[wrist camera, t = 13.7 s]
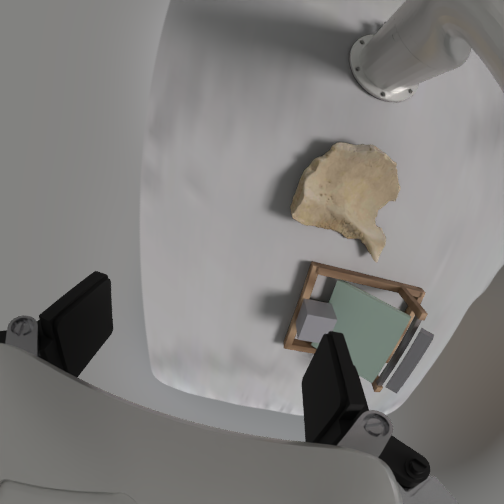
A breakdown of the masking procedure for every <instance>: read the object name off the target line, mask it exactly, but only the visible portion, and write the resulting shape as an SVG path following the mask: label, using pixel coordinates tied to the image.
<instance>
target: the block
mask: <svg viewBox="0 0 504 504" xmlns="http://www.w3.org/2000/svg"><path fill="white" fill-rule="evenodd" d="M336 322H337V317H336V314H335V312H334V309H333V306H332V304H330V303H325V302H320V301H315V300H310V299H305V298H304V300H303V303H302V306H301V309H300V311H299V314H298V317H297V320H296V330H297V337H298V340H303V341H309V342H315V343H320V341H321V339H322V337H323V335H324V334H328V332H329V331H333V329H334V327H335V324H336Z"/></svg>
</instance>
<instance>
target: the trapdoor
mask: <svg viewBox="0 0 504 504" xmlns="http://www.w3.org/2000/svg"><path fill="white" fill-rule="evenodd" d="M329 303H330V304H332V306H333V309H334V312H335V314H336V317H337V322H336V324H335V327H334V329H333V331H334V332H339V333H343V335H344V337H345V340H346V344H347V347H348V350H349V353H350V356H351V359H352V362H353V365H355V367H356V369H357V372H358V375H359V376H361V377H363V378H364V379H366V380H368V381H369V382H371V383H373V381H374V380H375V378H376V377H377V375H378V374H379V372H380V371H381V369H382V367H383V366H384V364H385V363H386V361H387V359H388V358H389V356H390V355H391V353H392V351H393V349H394V348H395V346H396V344H397V343H398V341H399V339H400V337H401V335H402V334H403V332H404V330H405V328H406V326H407V324H408V322H409V321H410V319H411V316H410V315H408V314H406V313H404V312H402V311H400V310H398V309H396V308H395V307H393V306H391V305H389V304H387V303H385V302H383V301H381V300H379V299H377V298H376V297H374V296H372V295H370V294H368V293H366V292H364V291H362V290H360V289H358V288H356V287H355V286H353V285H351V284H349V283H347V282H345V281H343V280H341V279H339V280H337V283H336V285H335V288H334V291H333V293H332V296H331V298H330V301H329ZM433 337H434V334H432V333H430V332H428V331H426V330H424V329H423V328H421V330H420V332H419V334H418V336H417V337H416V339H415V341H414V343H413V344H412V346H411V348H410V349H409V351H408V353H407V354H406V356H405V357H404V359H403V361H402V362H401V364H400V365H399V367H398V368H397V370H396V371H395V373H394V374H393V376H392V377H391V379H390V380H389V382H388V383H387V385H386V388H388V389H390V390H392V391H393V392H395V393H397V392H398V391H399V390H400V388H401V387H402V385H403V384H404V383H405V381H406V380H407V378H408V377H409V376H410V374H411V373H412V371H413V370H414V368H415V367H416V365H417V364H418V362H419V361H420V359H421V358H422V356H423V354H424V353H425V351H426V350H427V348H428V346H429V345H430V343H431V341H432V340H433ZM311 345H312V346H313V347H315V348H316V349H317V347H318V345H319V343H315V342H312V344H311Z"/></svg>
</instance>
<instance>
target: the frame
mask: <svg viewBox="0 0 504 504" xmlns="http://www.w3.org/2000/svg"><path fill="white" fill-rule="evenodd" d="M318 274H319V275H323V276H328V277H332V278H336V279H341V280H345V281H349V282H354V283H358V284H362V285H367V286H371V287H375V288H380V289H384V290H389V291H393V292H397V293H399V294H400V296H401V297H402V298H403V299H404V301H405V302H406V303H407V305H408V307H407V309H406V311H405V313H406V314H408V315H410V316H411V319H410V321H409V322H408V324H407V326H406V328H405V330H404V332H403V334H402V335H401V337H400V339H399V341H398V343H397V344H396V346H395V348H394V349H393V351H392V353H391V355H390V356H389V358H388V359H387V361H386V363H388V364H387V366H386V367H385V369H384V370H383V372H382V373H381V375H380V376H378V375H377V377H376V378H375V380H374V381H373V383H372V386H373V389H374V392H380V391H381V390H382V388H383V387H382V385H383V383H384V382H385V380H386V379H387V377H388V376H389V374H390V373H391V371H392V370H393V368H394V367H395V365H396V364H397V362H398V361H399V359H400V357H401V356H402V354H403V353H404V351H405V349H406V348H407V346H408V344H409V342H410V341H411V339H412V337H413V335H414V334H415V332H416V330H417V328H418V326H419V325H420V323H421V321H422V320H425V318H426V316H427V313H426V311H425V310H424V309H423V308H422V306H421V305H420V304H421V302H422V299H423V297H424V295H425V292H424V290H423V289H422V288H419V287H415V286H411V285H407V284H403V283H399V282H395V281H391V280H387V279H383V278H379V277H374V276H370V275H366V274H362V273H358V272H354V271H350V270H346V269H342V268H338V267H333V266H329V265H325V264H321V263H317V262H313V261H312V262H311V265H310V268H309V271H308V274H307V277H306V280H305V283H304V286H303V289H302V292H301V295H300V298H299V301H298V303H297V306H296V309H295V312H294V315H293V318H292V320H291V323H290V326H289V329H288V331H287V334H286V337H285V339H284V348H285V349H290V350H296V351H302V352H308V353H314V354H315V352H316V350H317V349H316V348H315V347H313V346H312V345H311V344H312V342H309V341H303V340H298V339H294V338H295V335H296V333H297V330H296V320H297V317H298V314H299V311H300V309H301V306H302V303H303V300H304V298H305V299H309V298H310V295H311V293H312V290H313V287H314V284H315V281H316V278H317V275H318ZM414 316H415V317H414ZM413 318H414V319H413ZM412 320H413V321H412ZM411 321H412V322H411ZM410 323H411V324H410ZM409 325H410V326H409ZM408 327H409V328H408ZM407 329H408V330H407ZM406 331H407V332H406ZM405 333H406V334H405ZM404 334H405V335H404ZM403 336H404V337H403ZM402 338H403V339H402ZM401 340H402V341H401ZM399 343H400V344H399ZM398 345H399V346H398ZM397 347H398V348H397ZM395 350H396V351H395ZM394 352H395V353H394ZM392 355H393V356H392ZM391 357H392V358H391ZM390 358H391V359H390ZM389 360H390V361H389Z"/></svg>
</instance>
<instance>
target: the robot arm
mask: <svg viewBox="0 0 504 504" xmlns="http://www.w3.org/2000/svg"><path fill="white" fill-rule="evenodd" d="M360 43H361V44H360ZM471 48H472V49H473V50H474V51H475V53H476V54H477V55H478V56H479V57H480V59H481V60H482V61H483V63H484V64H485V65H486V67H487V68H488V70H489V71H490V72H491V74H492V75H493V77H494V78H495V80H496V81H497V83H498V84H499V86H500V88H501V89H502V91H503V92H504V0H406V1H405V2H404V3H403V4H402V5H401V7H400V8H399V9H398V10H397V11H396V12H395V13H394V14H393V15H392V16H391V17H390V19H389V20H388V21H387V22H384V25H383V26H382V27H381V28H380V30H379V31H378V32H377V33H376V34H371V35H366V36H363V37H361V38H359V39H358V40H357V41H356V42H355V43H354V45H353V46H352V48H351V50H350V55H349V63H350V67H351V70H352V73H353V75H354V77H355V78H356V80H357V81H358V83H359V84H360V85H361V86H362V87H363V88H364V89H365V90H366V91H367V92H368V93H370V94H371V95H373V96H374V97H376V98H378V99H381V100H384V101H387V102H401V101H404V100H406V99H408V98H410V97H411V96H413V95H414V94H415V92H416V91H417V89H418V86H419V83H421V82H424V81H426V80H428V79H431V78H433V77H436V76H438V75H440V74H443V73H445V72H448V71H451V70H454V69H456V68H458V67H460V66H461V65H463V64H464V63H465V62H466V60H467V59H468V57H469V55H470V52H471ZM355 69H357V71H356V70H355ZM408 91H409V92H408ZM380 94H382V96H381V95H380ZM39 318H40V320H38V321H36V320H35V319H34V318H32V317H30V316H19V317H16V318H14V319H13V320H12V321H11V322H10V323H9V325H8V328H7V331H0V504H459V503H458V502H457V500H456V499H455V498H454V497H453V496H452V494H451V493H450V492H449V491H448V490H447V489H446V488H445V487H444V486H443V485H442V484H441V482H440V481H439V480H438V479H437V478H436V477H435V476H433V477H431V476H430V475H429V474H430V465H429V462H428V461H427V460H426V458H425V457H423V456H422V455H420V454H419V453H417V452H416V451H414V450H413V449H411V448H410V447H408V446H406V445H405V444H404V443H402V442H401V441H399V440H397V439H396V438H395V437H393V436H392V432H393V425H392V422H391V420H390V419H389V418H388V417H387V416H386V415H385V414H383V413H381V412H379V411H375V410H369V409H368V405H367V402H366V398H365V395H364V392H363V388H362V385H361V382H360V378H359V375H358V372H357V369H356V367H355V365H353V362H352V359H351V356H350V353H349V350H348V347H347V344H346V340H345V337H344V335H343V333H339V332H334V331H329V332H328V334H324V335H323V337H322V339H321V341H320V343H319V345H318V347H317V350H316V352H315V354H314V356H313V358H312V360H311V362H310V364H309V366H308V368H307V371H306V373H305V375H304V377H303V379H302V394H303V408H304V422H305V439H306V442H300V441H290V440H282V439H275V438H268V437H261V436H255V435H249V434H244V433H238V432H233V431H228V430H224V429H219V428H215V427H210V426H207V425H203V424H199V423H195V422H191V421H187V420H184V419H180V418H177V417H174V416H171V415H168V414H164V413H161V412H158V411H155V410H152V409H150V408H147V407H144V406H141V405H139V404H136V403H133V402H131V401H128V400H126V399H123V398H121V397H118V396H116V395H113V394H111V393H109V392H106V391H104V390H102V389H100V388H98V387H95V386H93V385H91V384H89V383H87V382H85V381H83V380H81V379H79V378H77V377H78V376H79V375H80V373H81V372H82V371H83V369H84V368H85V367H86V365H87V364H88V363H89V362H90V360H91V359H92V358H93V356H94V355H95V354H96V352H97V351H98V350H99V349H100V348H101V346H102V345H103V344H104V343H105V341H106V340H107V339H108V337H109V336H110V335H111V333H112V331H113V319H112V305H111V281H110V279H108V276H107V275H106V274H103V273H100V272H97V271H95V272H93V273H92V274H91V275H89V276H88V277H87V278H85V279H84V280H83V281H81V282H80V283H79V284H77V285H76V286H75V287H74V288H72V289H71V290H70V291H68V292H67V293H66V294H65V295H63V296H62V297H61V298H60V299H59V300H57V301H56V302H55V303H54V304H52V305H51V306H50V307H49V308H48V309H46V310H45V311H44V312H43V313H42V314H40V315H39Z"/></svg>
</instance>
